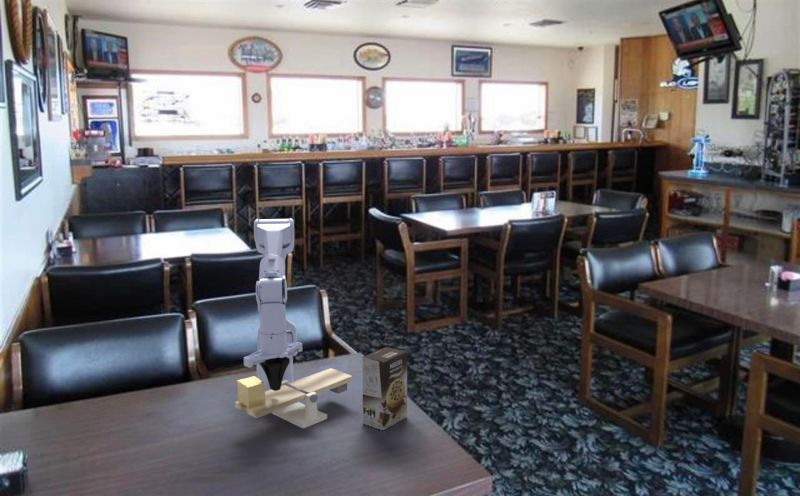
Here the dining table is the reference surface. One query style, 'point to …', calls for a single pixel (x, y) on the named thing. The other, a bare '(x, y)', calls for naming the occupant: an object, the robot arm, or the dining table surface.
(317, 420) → the stand
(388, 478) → the dining table surface
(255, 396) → the rider
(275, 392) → the beam
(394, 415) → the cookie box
